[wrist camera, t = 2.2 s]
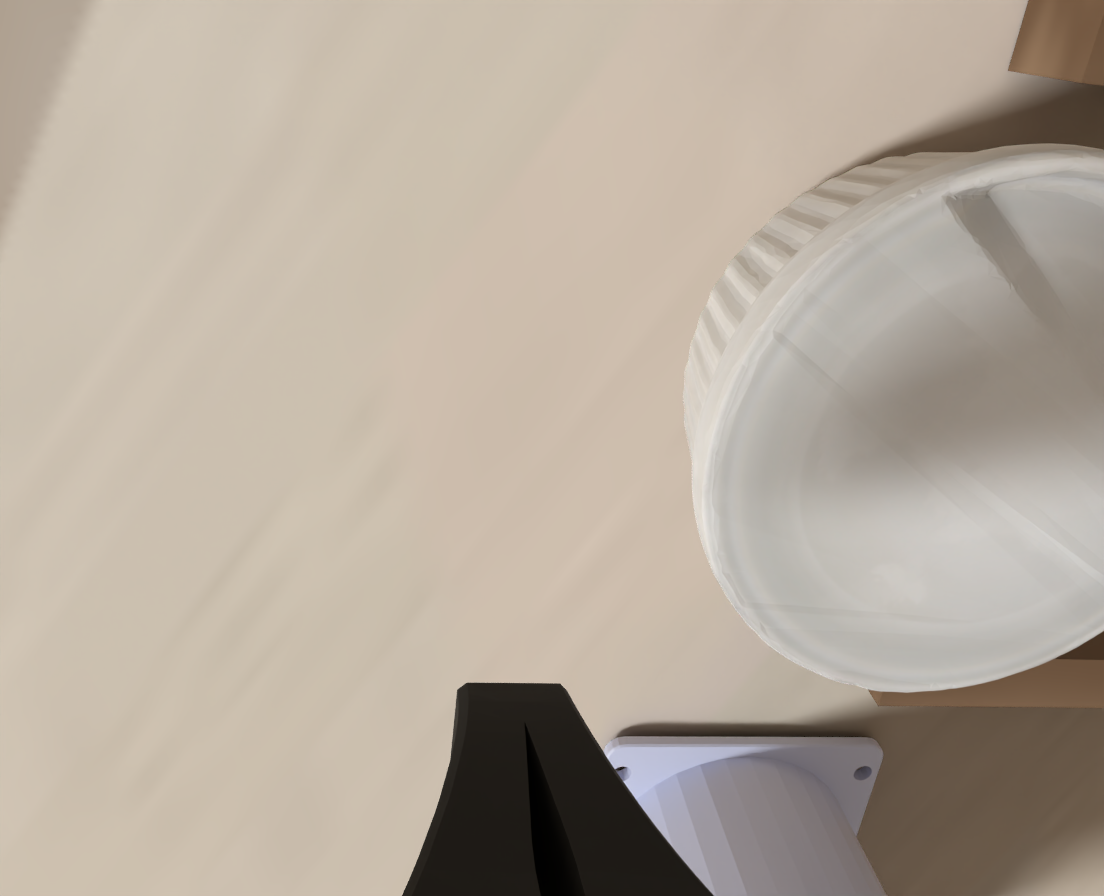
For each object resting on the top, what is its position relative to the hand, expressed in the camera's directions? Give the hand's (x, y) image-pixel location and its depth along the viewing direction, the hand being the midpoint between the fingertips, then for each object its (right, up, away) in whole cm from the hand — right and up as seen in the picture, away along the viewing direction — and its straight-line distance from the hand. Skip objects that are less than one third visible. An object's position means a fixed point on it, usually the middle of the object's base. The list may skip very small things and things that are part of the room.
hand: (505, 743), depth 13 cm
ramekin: (+8, +6, +10) cm, 15 cm away
